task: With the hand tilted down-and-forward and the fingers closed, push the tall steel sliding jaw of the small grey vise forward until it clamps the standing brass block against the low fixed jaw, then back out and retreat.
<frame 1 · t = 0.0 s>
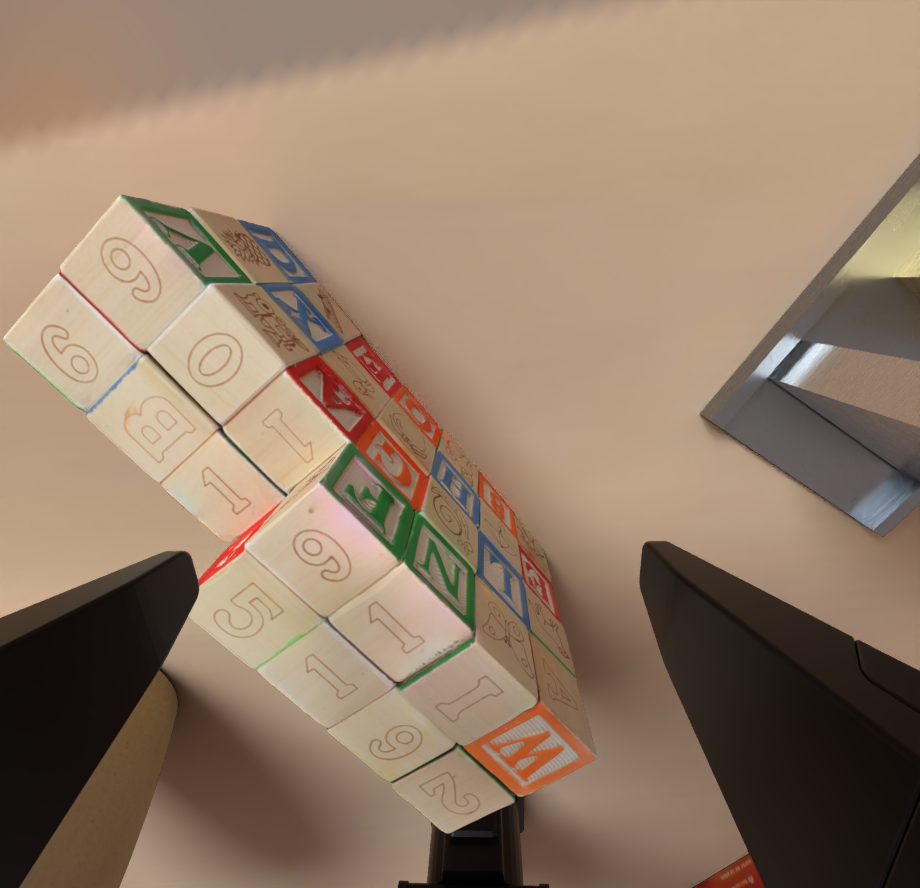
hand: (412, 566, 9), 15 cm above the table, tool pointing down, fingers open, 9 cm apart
plant pot: (126, 691, 31), on the table
stack of blocks: (380, 439, 24), on the table
medicine box: (760, 882, 35), on the table
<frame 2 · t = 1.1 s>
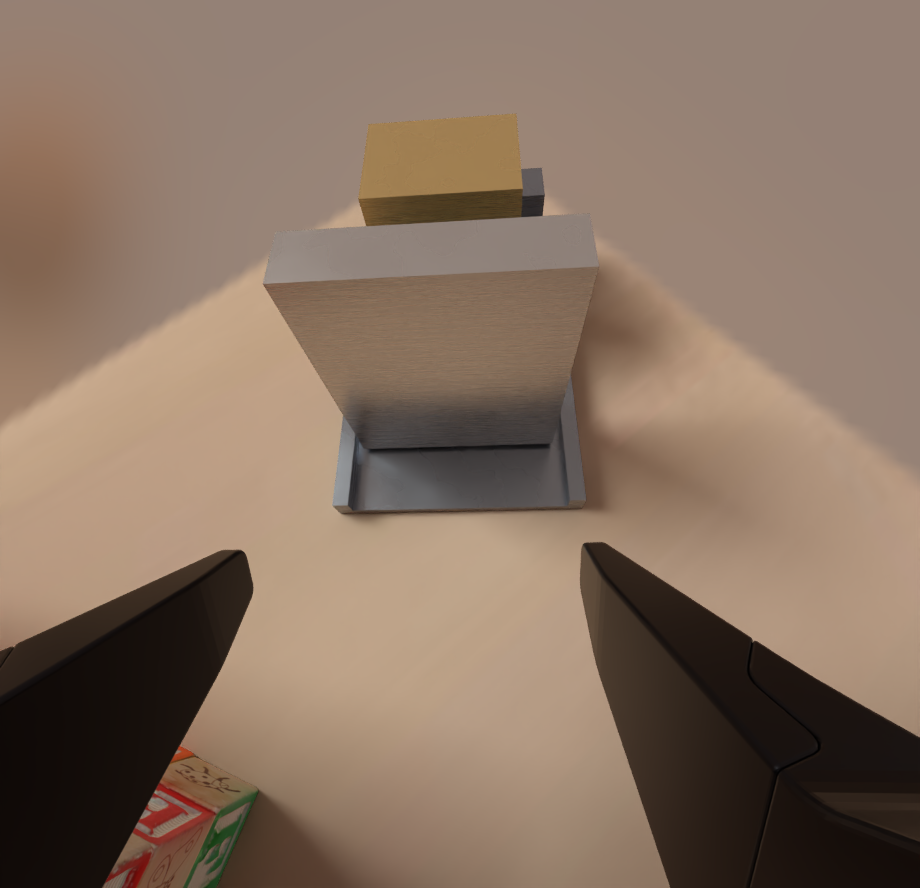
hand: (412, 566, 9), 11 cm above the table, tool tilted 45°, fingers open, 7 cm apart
sliding jaw: (446, 362, 18), point 6 cm above the table, slide at 0.0 cm
stack of blocks: (3, 762, 19), on the table
brass block: (457, 313, 26), resting on vise
vise: (459, 337, 26), on the table
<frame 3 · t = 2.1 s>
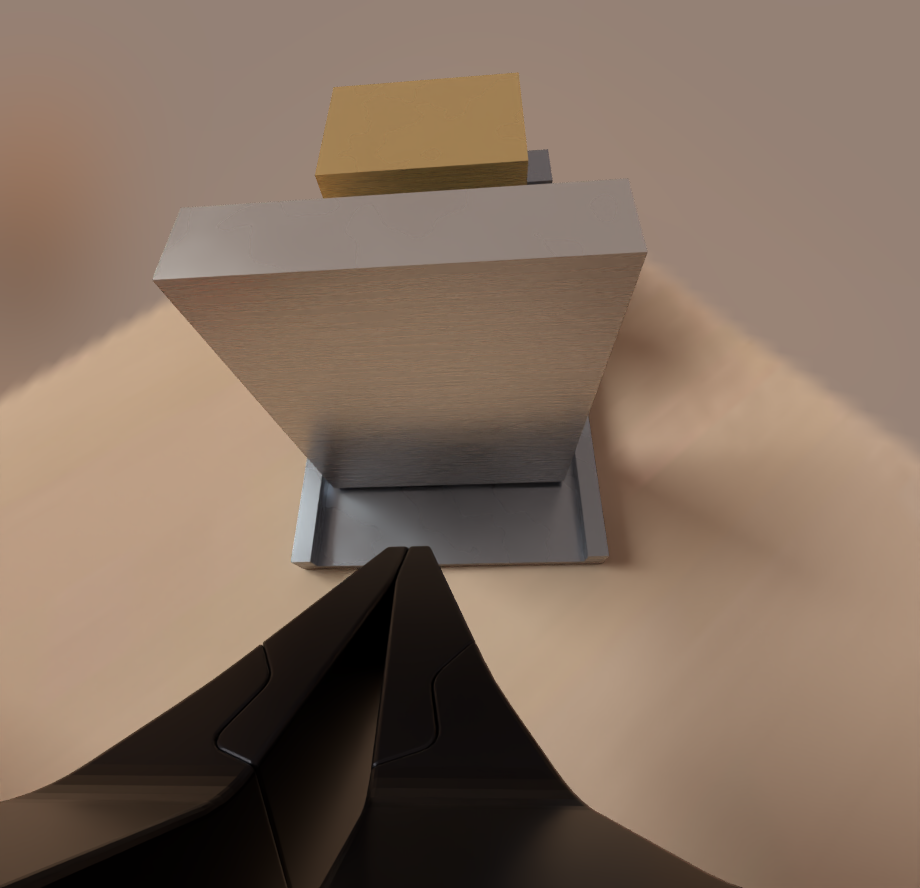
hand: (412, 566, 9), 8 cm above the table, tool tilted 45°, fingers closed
sliding jaw: (430, 386, 14), point 6 cm above the table, slide at 0.0 cm
brass block: (449, 323, 22), resting on vise
vise: (450, 350, 22), on the table
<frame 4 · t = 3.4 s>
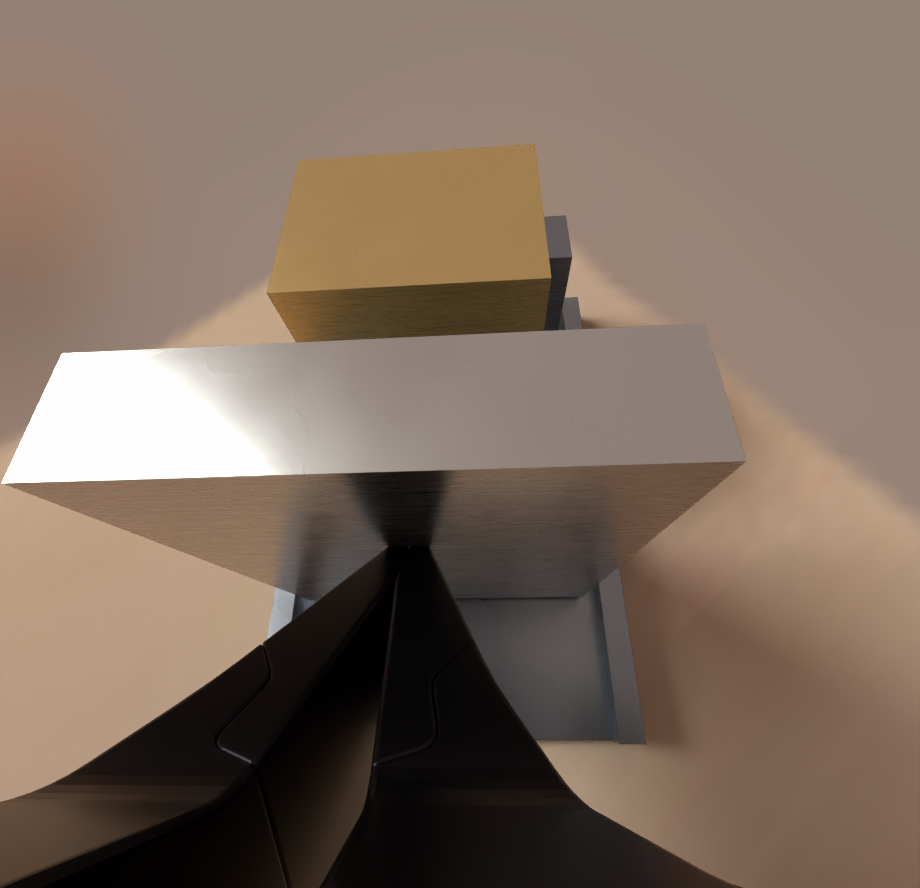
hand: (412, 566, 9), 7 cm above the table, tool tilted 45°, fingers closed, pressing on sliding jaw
sliding jaw: (422, 521, 11), point 6 cm above the table, slide at 1.0 cm, touching gripper
brass block: (447, 410, 19), resting on vise
vise: (449, 443, 18), on the table
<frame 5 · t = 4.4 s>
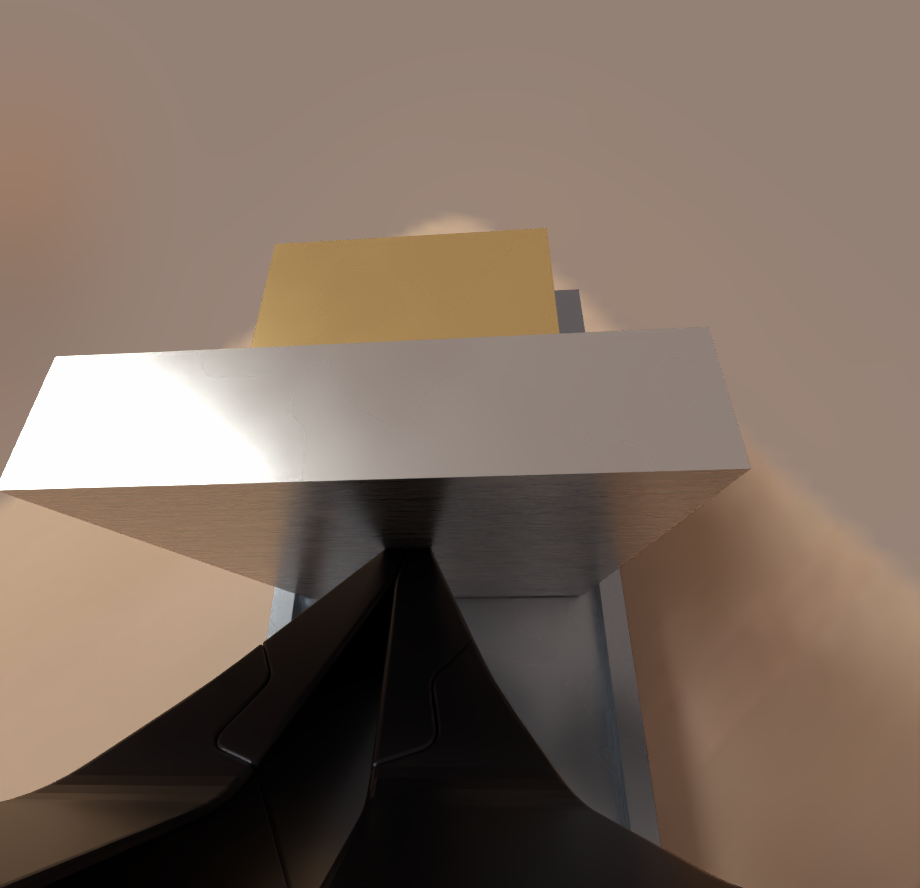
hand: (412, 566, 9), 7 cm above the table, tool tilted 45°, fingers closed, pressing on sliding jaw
sliding jaw: (422, 522, 11), point 6 cm above the table, slide at 4.5 cm, touching brass block, gripper
brass block: (446, 479, 17), resting on vise, touching sliding jaw
vise: (448, 528, 17), on the table
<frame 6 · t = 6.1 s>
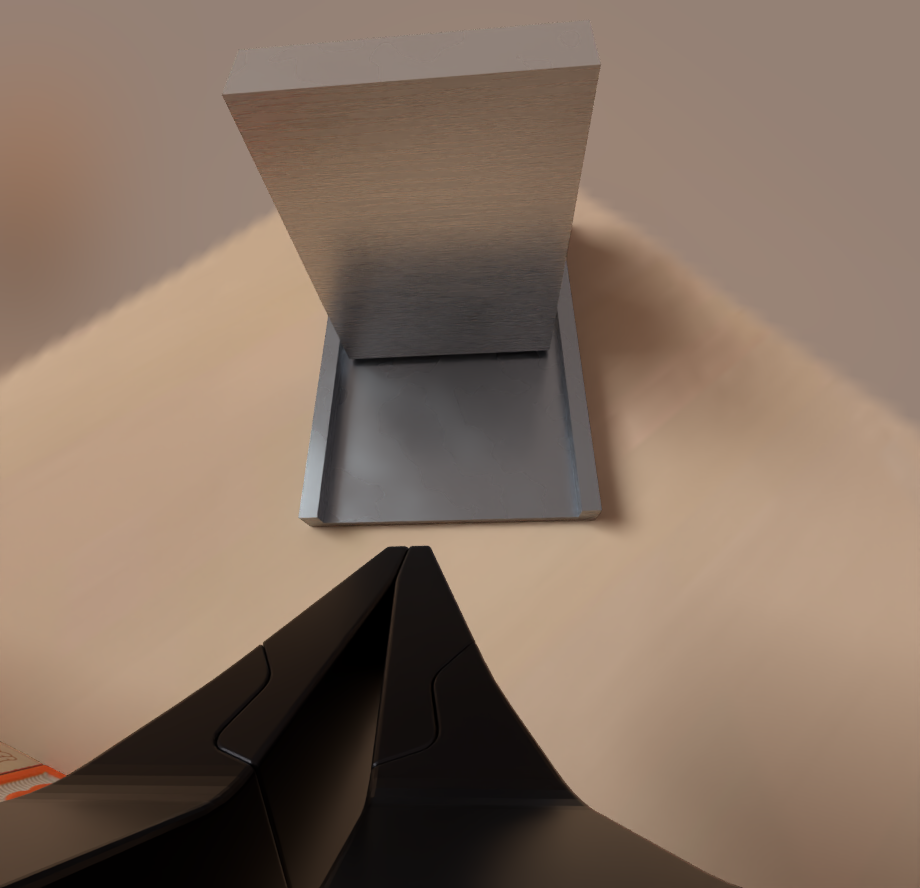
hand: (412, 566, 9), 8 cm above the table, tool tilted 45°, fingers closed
sliding jaw: (434, 238, 16), point 6 cm above the table, slide at 4.5 cm, touching brass block
vise: (450, 320, 22), on the table
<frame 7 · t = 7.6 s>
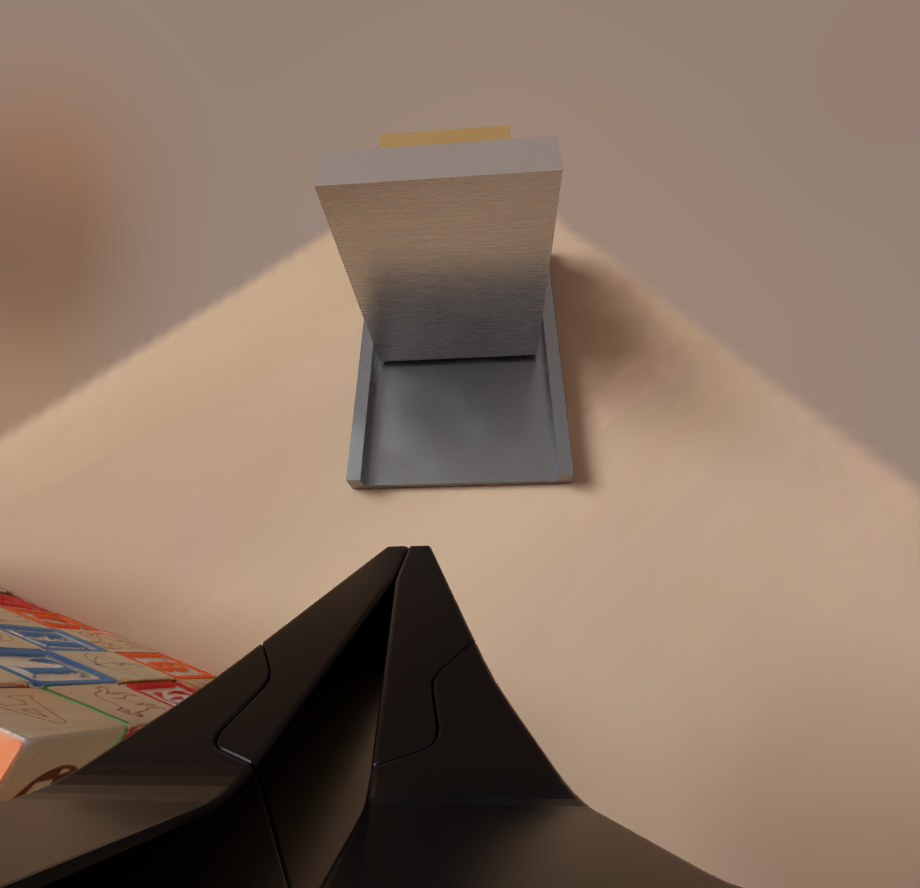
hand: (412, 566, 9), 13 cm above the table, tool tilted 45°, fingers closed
sliding jaw: (449, 272, 22), point 6 cm above the table, slide at 4.5 cm, touching brass block
stack of blocks: (46, 690, 21), on the table
brass block: (458, 304, 28), resting on vise, touching sliding jaw
vise: (459, 331, 28), on the table
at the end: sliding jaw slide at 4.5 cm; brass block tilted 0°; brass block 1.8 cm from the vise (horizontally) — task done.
